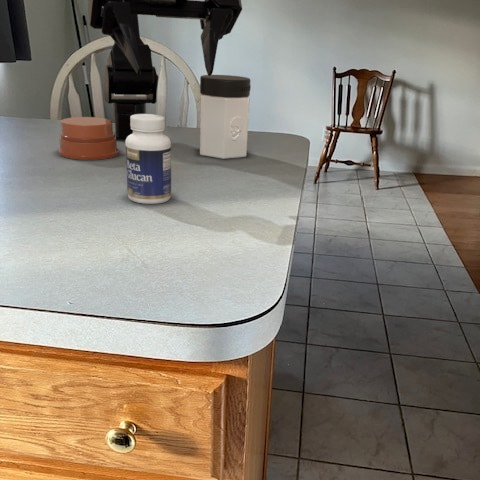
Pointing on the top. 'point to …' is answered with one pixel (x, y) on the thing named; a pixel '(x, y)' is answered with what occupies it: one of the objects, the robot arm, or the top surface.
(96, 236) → the top surface
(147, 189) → the pill bottle
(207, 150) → the jar
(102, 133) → the cup stack
